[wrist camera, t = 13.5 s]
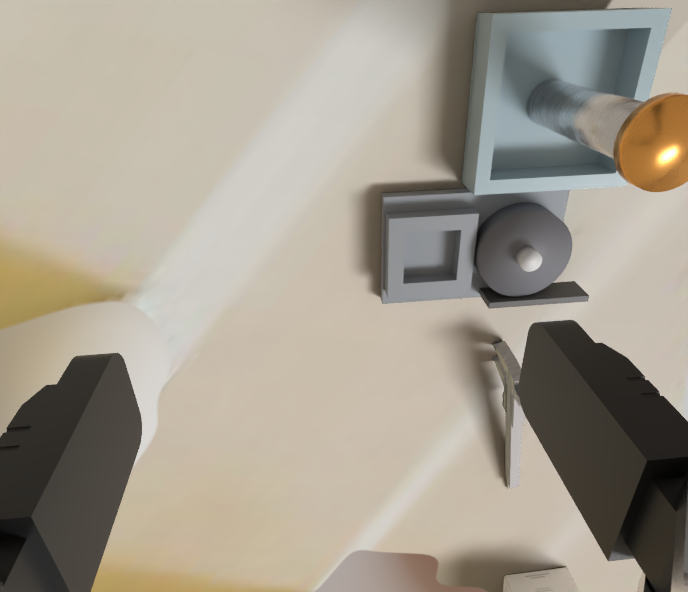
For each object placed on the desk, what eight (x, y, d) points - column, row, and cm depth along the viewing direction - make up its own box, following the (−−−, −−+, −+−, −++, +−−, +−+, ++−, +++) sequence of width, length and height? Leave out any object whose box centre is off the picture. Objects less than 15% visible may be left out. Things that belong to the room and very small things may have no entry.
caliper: (490, 339, 46) (517, 384, 41) (502, 336, 46) (531, 381, 40) (505, 485, 56) (528, 536, 51) (515, 483, 56) (539, 534, 51)
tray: (476, 13, 32) (492, 14, 30) (641, 7, 33) (671, 8, 31) (461, 182, 38) (474, 195, 35) (603, 174, 39) (625, 186, 36)
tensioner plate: (381, 193, 38) (390, 212, 34) (589, 181, 39) (618, 198, 35) (380, 297, 42) (388, 323, 39) (566, 284, 43) (590, 309, 40)
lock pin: (522, 69, 34) (638, 97, 22) (585, 66, 34) (732, 93, 23) (512, 137, 36) (615, 194, 25) (572, 134, 36) (701, 189, 25)
